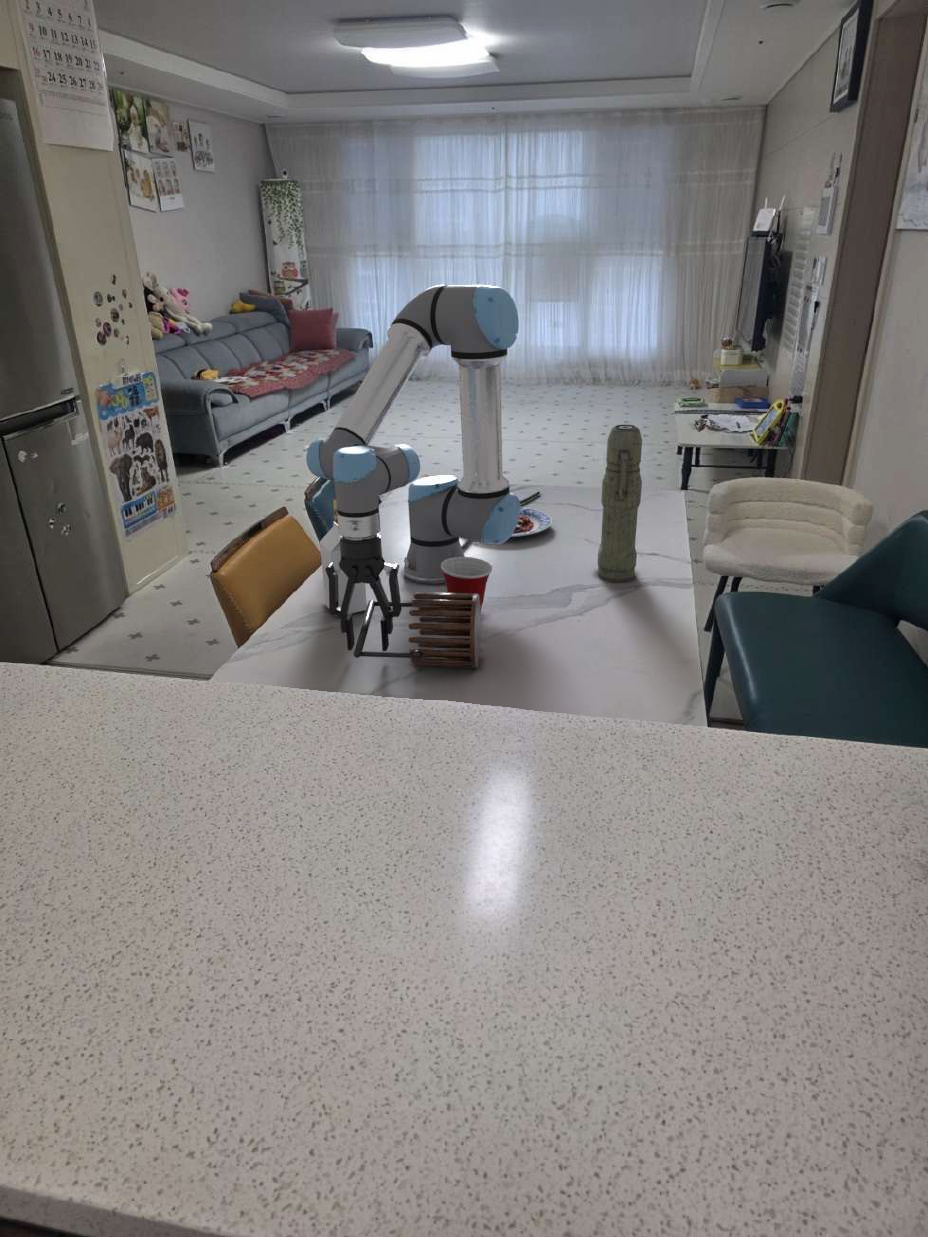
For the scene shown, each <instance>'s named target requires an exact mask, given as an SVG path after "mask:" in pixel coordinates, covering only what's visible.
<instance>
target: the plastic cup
mask: <svg viewBox="0 0 928 1237" xmlns="http://www.w3.org/2000/svg"><path fill="white" fill-rule="evenodd" d="M441 569H442V571H443V573H444V578H445V582H446V583H445V586H446V593H475V594H479V597H480V609H481V610H482V609H483V608H482V607H483V604H484V598H485V594H486V588H487V583H488V579H489V578H490V575H491V573H492V572H493V565H492V564H490V563H489V561H485V560H483V559H482V558H477V557H471V556H465V557H454V558H450V559H446V560H444V561H443V562H442V563H441Z"/></svg>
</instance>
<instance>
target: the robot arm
mask: <svg viewBox="0 0 928 1237" xmlns="http://www.w3.org/2000/svg"><path fill="white" fill-rule="evenodd" d="M519 322H520V321H519V313H518V309H517V306H516V303H515V301H514V299H513V297H512V296H511V294H510V293H509V292H508V291H507V290H506V289H505V288H503V287H501V286H494V285H488V284H459V285H458V284H457V285H455V284H451V285H449V284H437V285H434V286H430V287H428V288H426V289H424V290H422V291H420V292H419V293H418V294H417V295H415V296H414V297H413V298H412V299H411V300H410V301H409V302H407V303H406V304H405V305H404V306H403V307H402V309H400V311H399V312H398V313H397V315H396V316H395V317H394V319H393V321H392V322H391V324H390V325H389V327H388V329H387V332H386V334H387V338H388V339H387V340H386V342H385V344H384V345H383V346H382V348H381V350H380V352H379V354H378V355H377V357H376V358H375V360H374V362H373V363H372V365H371V367H370V369H369V370H368V371H367V373H366V375H365V377H364V378H363V380H362V381H361V383H360V385H359V387H358V389H357V390H356V392H355V394H354V395H353V396H352V398H351V400H350V401H349V403H348V404H347V406H346V408H345V410H344V412H343V413H342V414H341V416H340V418H339V420H338V422H337V423H336V425H335V427H334V428H333V430H332V431H331V433H330V435H329V437H328V438H325V437H323V438H317V439H315V440H314V441H312V442H311V443H310V444H309V446H308V448H307V451H306V456H305V462H306V466H307V469H308V470H309V471H310V474H312V475H314V476H315V477H318V478H321V479H324V480H328V481H333V482H334V490H335V499H336V502H337V517H338V528H339V534H340V535H341V536H340V538H339V540H340V552H341V560H340V562H338V563H332V562H330V563H329V564H328V566H327V567H326V569H325V571H326V573H327V576H328V578H329V608H328V610H329V615H330V616H332V617H333V616H335V615H336V616H338V617H337V618H339V621H340V622H339V623H340V631H341V633H342V634H346V644H347V646H346V647H347V651H352V650H354V648H355V646H356V642H355V630H354V620H353V619H354V618H353V613H351V614H348V611H349V606H350V603H351V599H352V595H353V591H354V587H355V584H356V583H365V585H366V584H369V586H370V589H371V590H372V592H373V594H374V596H375V600H376V601H377V602H378V604H379V606H378V607H379V609H380V611H381V613H382V616H381V618H380V621H379V622H380V634H381V649H382V651H381V652H388V648H389V647H390V646H389V645H390V642H389V638H390V637H389V635H392V634H393V633H392V632H393V631H394V622H393V620H394V619H393V618H398V617H400V615H401V613H402V610H403V607H401V602H402V601H401V593H400V592H401V591H400V585H399V578H398V575H399V570H400V564H399V563H394V564H391V563H387V562H386V561H385V560H386V559H384V556H383V548H382V547H383V546H382V536H381V533H380V532H381V518H380V516H381V515H380V502H379V496H382V495H385V494H386V493H389V492H391V491H394V490H397V489H399V488H403V487H406V486H407V485H408V484H409V486H408V495H407V497H408V498H407V503H408V520H409V536H410V542H409V547H408V551H407V554H406V556H404V559H403V563H404V567H403V572H404V576H405V577H406V578H407V579H409V580H410V581H413V582H416V583H421V584H426V585H427V584H428V585H436V584H437V585H440V584H446V582H445V578H444V573H443V571H442V569H441V563H442V562H443V561H444V560H446V559H450V558H454V557H466V555H465V554H464V550H465V549H466V548H467V547H468V545H469V544H470V542H471V541H474V542H478V543H481V544H485V545H487V544H489V545H502V544H504V543H506V542H507V541H508V540H509V539H510V538H512V537H511V535H512V534H513V532H514V530H515V528H516V526H517V523H518V520H519V516H520V507H521V505H522V504H525V503H527V502H529V501H530V500H532V499H535V497H537V496H539V495H540V494H541V491H539V490H538V491H536V492H534V493H533V494H531V495H529V496H528V497H526V498H523V499H521V500H520V499H519V497H518V495H516V494H514V493H512V492H511V490H510V487H511V486H510V481H509V480H508V479H507V478H506V477H505V476H504V475H503V435H502V434H503V432H502V430H503V428H502V392H501V391H502V389H501V388H502V387H501V386H502V385H501V383H502V380H501V379H502V378H501V364H502V362H503V361H504V360H505V359H506V358H507V357H508V349H509V348H511V347H512V346H513V345H514V344H515V343H516V340H517V338H518V337H517V334H518V333H519V325H520V324H519ZM438 346H450V358H451V359H452V360H453V361H454V362H455V363H456V364H457V365H458V376H459V377H458V378H459V401H460V402H459V403H460V423H461V426H460V427H461V428H460V429H461V447H462V448H461V449H462V471H463V472H462V473H463V474H462V478H461V479H460V480H459V478H458V477H457V476H455V475H449V474H443V475H441V474H440V475H433V476H428V477H427V476H426V477H422V478H419V479H417V478H418V477H419V474H420V472H421V461H420V457H419V455H418V453H417V451H415V449H414V448H413V447H411V446H410V445H409V444H408V445H407V444H393V445H390V447H381V446H375V445H371V444H372V442H373V441H374V438H375V437H376V436H377V434H378V432H379V430H380V429H381V426H382V425H383V423H384V422H385V420H386V418H387V416H388V415H389V413H390V411H391V409H392V408H393V406H394V404H395V403H396V401H397V399H398V397H399V396H400V394H401V392H402V390H403V389H404V388H405V386H406V385H407V382H408V380H409V379H410V377H411V375H412V374H413V372H414V371H415V369H416V367H417V365H418V363H419V362H420V360H424V359H426V358H427V357H428V356H429V355H430V352H431V351H432V350H433V349H434V348H436V347H438ZM410 483H411V484H410ZM510 492H511V493H510ZM460 539H464V540H466V541H465V542H464V543H463V544H462V545H461V542H460ZM340 569H341V570H342V571H343V572H344V573H345V574H346V576H347V577H348V581H347V585H346V590H345V594H344V598H343V602H342V606H341V608H340V607H339V594H338V574H339V572H340ZM383 570H384V571H385V575H386V576H387V577H388V586H389V592H390V593H389V594H390V599H391V601H389V599H388V597H387V593H386V591H385V589H384V586H383V584H382V581H381V576H380V575H381V573H382V572H383ZM389 602H392V606H390V604H389ZM336 616H335V617H336Z"/></svg>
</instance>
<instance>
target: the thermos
mask: <svg viewBox="0 0 928 1237" xmlns="http://www.w3.org/2000/svg"><path fill="white" fill-rule="evenodd" d="M640 430H641V429H640V428H639V427H637V426H636V425H634V424H617V425H614V426H613V427H611V429H610V432H609V434H608V437H607V440H606V458H605V461H606V467H605V472H604V475H603V478H602V480H601V498H600V499H601V500H600V502H601V505H602V515H601V516H602V517H601V518H602V519H601V520H602V521H601V536H600V544H599V546H598V550H597V576H598V577H599V578H600V579H602V580H604V581H609V582H617V583H619V582H620V583H621V582H627V581H631V580H633V579H634V578H635V572H636V570H635V569H636V566H637V556H638V552H637V549H636V537H637V526H638V511H639V507H640V505H641V500H642V485H643V480H642V477H641V467H640V466H641V464H640V463H641V462H642V450H643V438H642V433H641V431H640Z"/></svg>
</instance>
